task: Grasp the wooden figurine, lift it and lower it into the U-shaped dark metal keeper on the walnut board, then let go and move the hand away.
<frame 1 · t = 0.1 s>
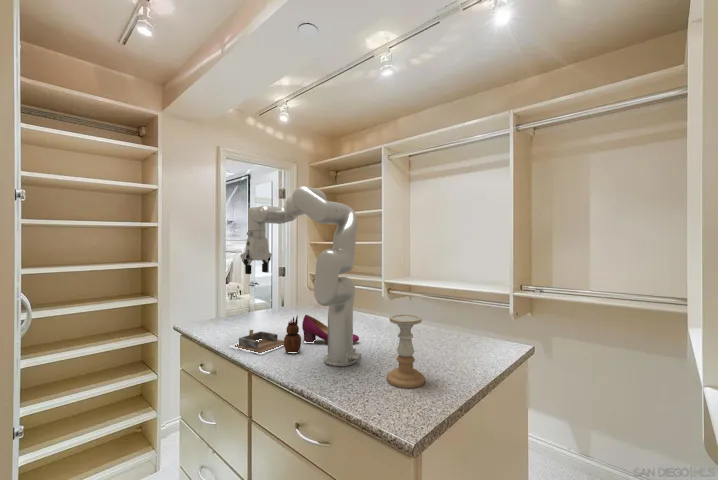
hand: (256, 273, 145), 31 cm above the worktop, tool pointing down, fingers open, 9 cm apart
wooden figurine: (292, 353, 132), on the worktop
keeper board: (259, 346, 140), on the worktop
candle holder: (405, 380, 105), on the worktop
high heel: (330, 343, 144), on the worktop
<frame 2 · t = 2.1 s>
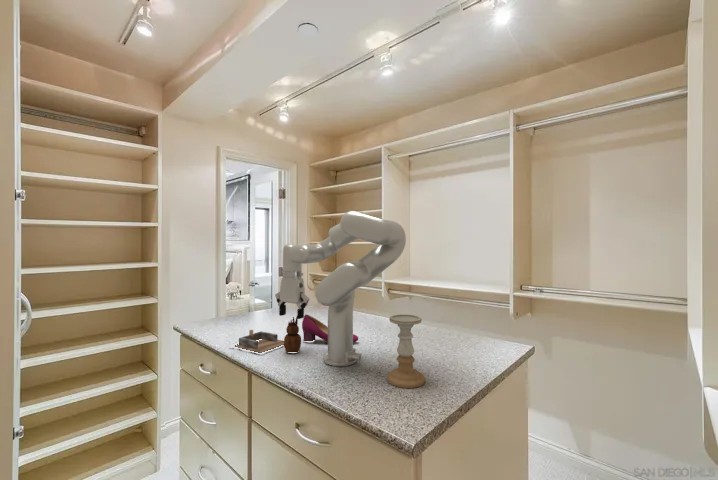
hand: (291, 316, 132), 15 cm above the worktop, tool pointing down, fingers open, 9 cm apart
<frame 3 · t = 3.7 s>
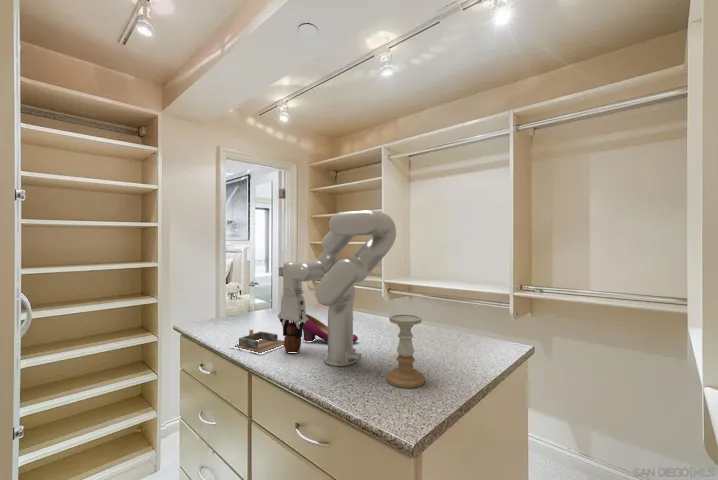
hand: (292, 336, 132), 7 cm above the worktop, tool pointing down, fingers closed on wooden figurine, 6 cm apart
wooden figurine: (292, 353, 132), on the worktop, touching gripper
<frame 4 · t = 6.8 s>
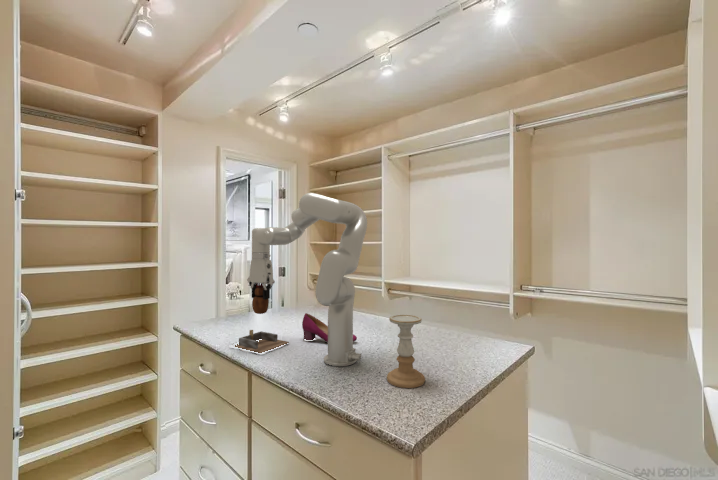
hand: (260, 297, 140), 21 cm above the worktop, tool pointing down, fingers closed on wooden figurine, 6 cm apart
wooden figurine: (260, 313, 140), point 14 cm above the worktop, touching gripper
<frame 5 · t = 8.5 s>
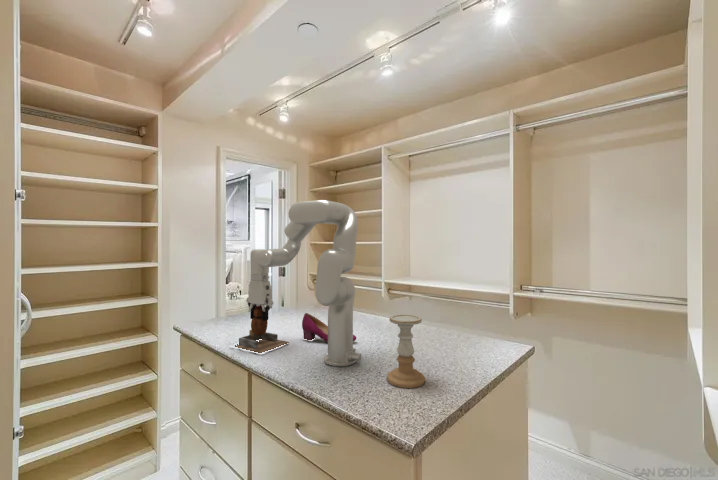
hand: (259, 318, 140), 12 cm above the worktop, tool pointing down, fingers closed on wooden figurine, 6 cm apart
wooden figurine: (259, 334, 140), point 5 cm above the worktop, touching gripper
when the fingers open (9 cm above the worktop, at t = 10.0 s): wooden figurine drops 1 cm, resting on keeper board.
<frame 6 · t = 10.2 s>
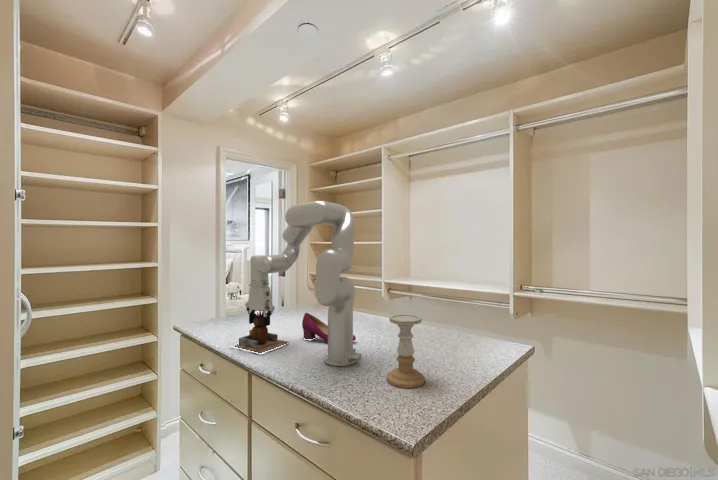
hand: (259, 324, 140), 10 cm above the worktop, tool pointing down, fingers open, 8 cm apart
wooden figurine: (259, 343, 140), point 1 cm above the worktop, touching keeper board
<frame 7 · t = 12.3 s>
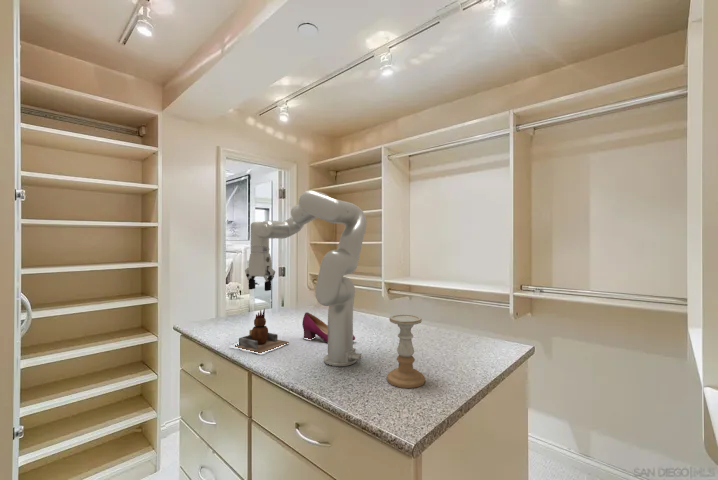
hand: (259, 289, 141), 24 cm above the worktop, tool pointing down, fingers open, 9 cm apart
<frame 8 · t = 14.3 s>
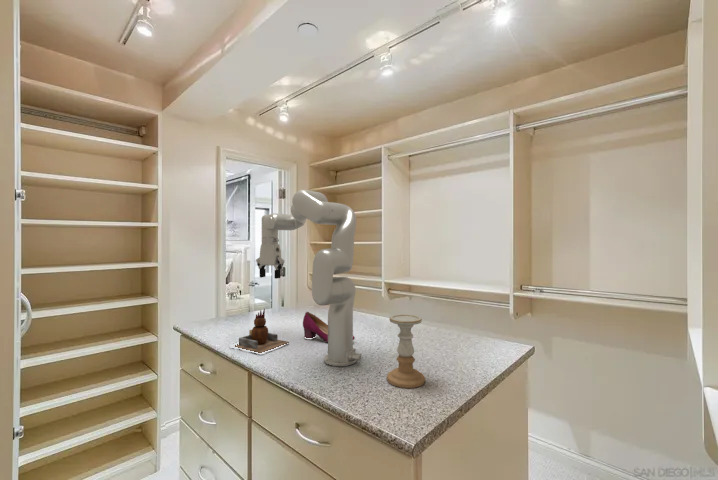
hand: (269, 277, 152), 28 cm above the worktop, tool pointing down, fingers open, 9 cm apart
at the end: wooden figurine 0.3 cm off-centre on the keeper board, point 1.0 cm above the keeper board's base; wooden figurine tilted 0°; the gripper is holding nothing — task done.
